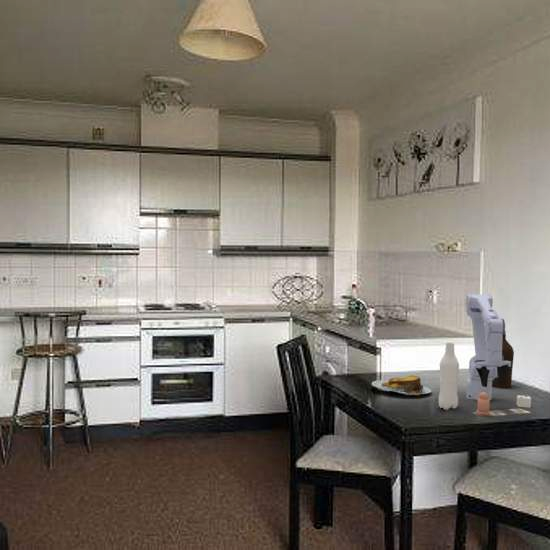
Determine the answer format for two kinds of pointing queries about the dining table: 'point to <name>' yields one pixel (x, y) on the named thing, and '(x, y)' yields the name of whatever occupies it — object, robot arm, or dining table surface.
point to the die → (523, 401)
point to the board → (505, 412)
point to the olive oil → (506, 356)
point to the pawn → (483, 404)
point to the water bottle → (448, 378)
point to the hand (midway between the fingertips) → (492, 385)
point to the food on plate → (402, 385)
